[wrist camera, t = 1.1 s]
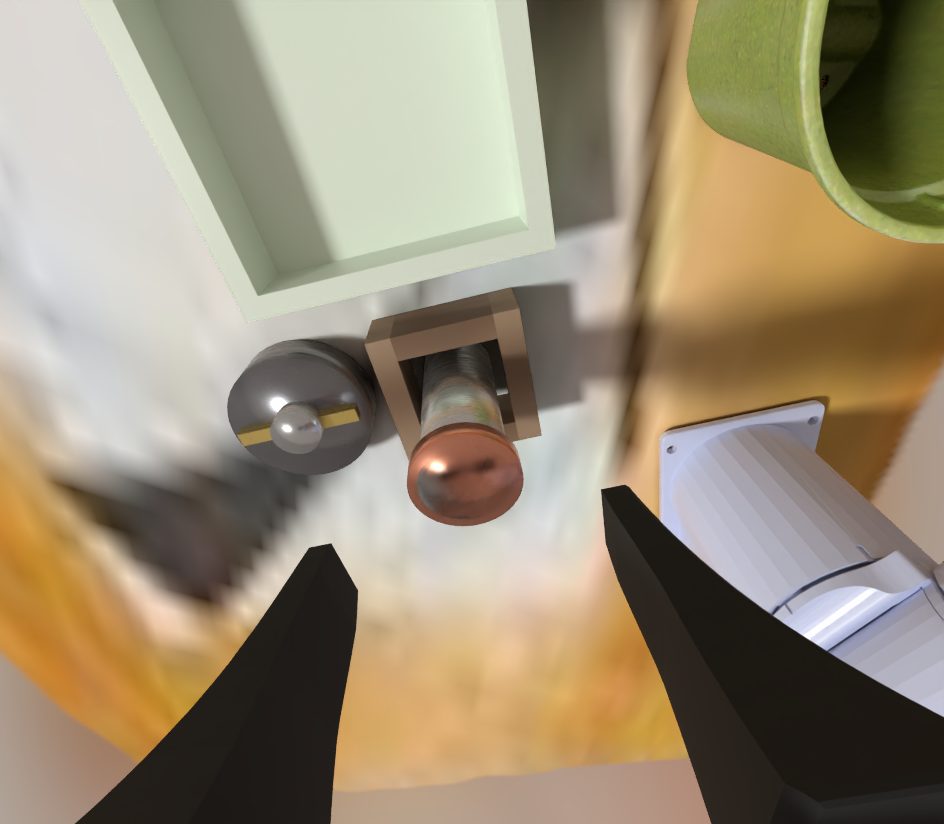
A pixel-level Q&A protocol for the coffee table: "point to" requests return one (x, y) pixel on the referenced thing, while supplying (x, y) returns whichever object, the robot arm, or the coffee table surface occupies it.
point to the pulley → (303, 407)
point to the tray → (340, 136)
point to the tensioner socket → (444, 331)
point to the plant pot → (834, 98)
